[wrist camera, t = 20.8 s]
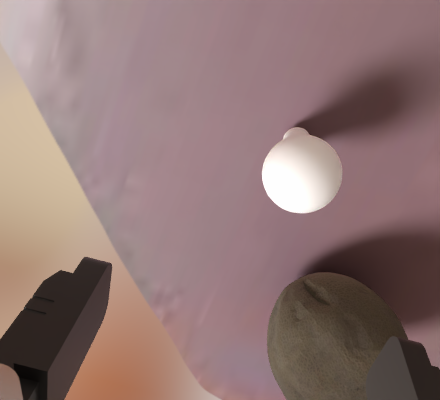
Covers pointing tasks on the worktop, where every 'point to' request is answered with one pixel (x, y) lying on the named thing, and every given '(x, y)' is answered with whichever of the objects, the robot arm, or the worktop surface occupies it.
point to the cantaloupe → (327, 337)
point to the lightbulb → (302, 172)
